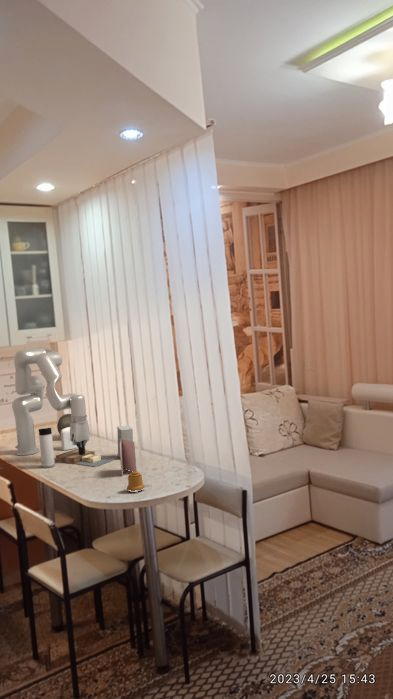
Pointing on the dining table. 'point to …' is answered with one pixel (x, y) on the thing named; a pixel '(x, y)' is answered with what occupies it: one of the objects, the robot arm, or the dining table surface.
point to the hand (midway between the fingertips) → (82, 453)
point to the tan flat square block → (72, 456)
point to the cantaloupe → (64, 422)
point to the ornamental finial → (135, 481)
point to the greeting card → (127, 455)
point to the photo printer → (66, 439)
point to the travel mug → (46, 448)
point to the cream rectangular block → (91, 458)
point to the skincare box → (124, 435)
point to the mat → (98, 463)
